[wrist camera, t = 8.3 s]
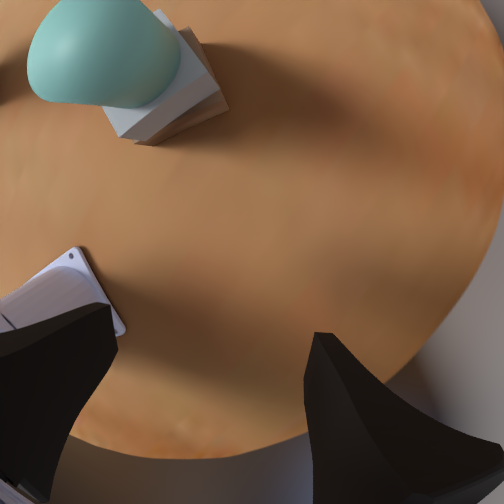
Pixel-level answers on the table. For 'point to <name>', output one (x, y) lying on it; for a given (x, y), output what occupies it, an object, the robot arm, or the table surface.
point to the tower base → (200, 111)
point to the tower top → (166, 95)
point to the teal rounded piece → (102, 54)
